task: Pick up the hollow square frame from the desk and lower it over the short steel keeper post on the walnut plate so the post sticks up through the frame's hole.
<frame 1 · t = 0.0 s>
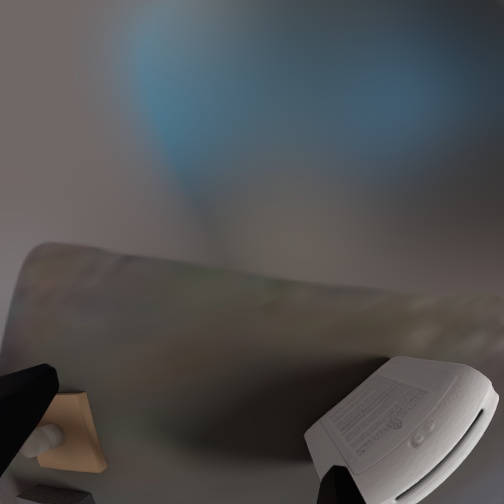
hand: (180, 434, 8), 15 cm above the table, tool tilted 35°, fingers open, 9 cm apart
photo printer: (361, 410, 21), on the table
keeper post: (65, 430, 21), on the table
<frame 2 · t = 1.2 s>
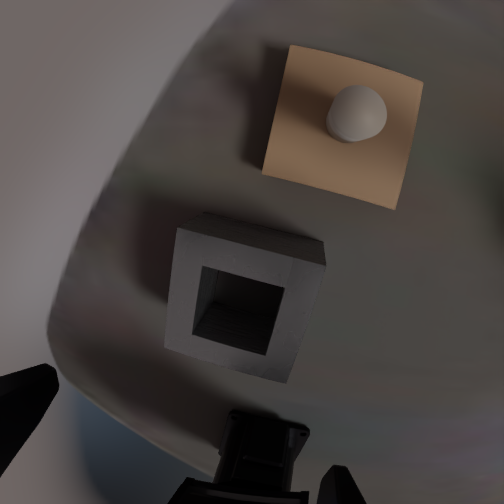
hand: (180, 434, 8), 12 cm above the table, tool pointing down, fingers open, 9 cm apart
keeper post: (343, 126, 16), on the table
hollow square frame: (250, 282, 19), on the table
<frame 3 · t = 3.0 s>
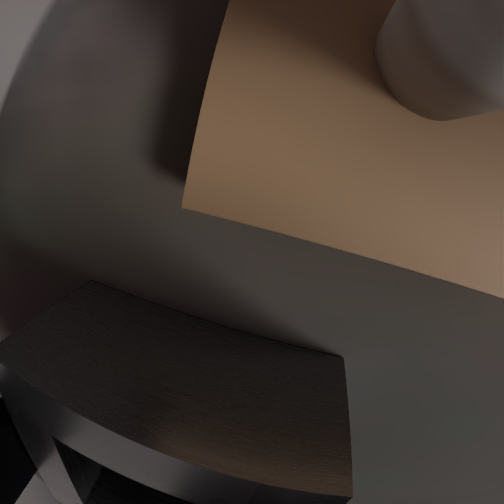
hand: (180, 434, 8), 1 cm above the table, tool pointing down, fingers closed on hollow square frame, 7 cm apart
keeper post: (406, 81, 5), on the table
hollow square frame: (191, 411, 9), on the table, touching gripper
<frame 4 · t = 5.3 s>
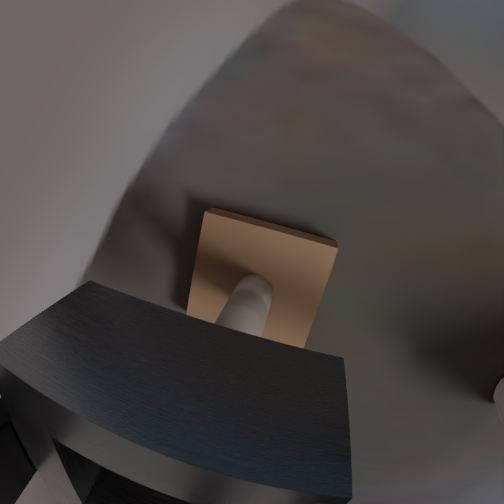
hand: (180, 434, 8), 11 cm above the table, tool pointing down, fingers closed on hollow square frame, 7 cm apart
keeper post: (258, 281, 18), on the table
hollow square frame: (190, 411, 9), point 10 cm above the table, touching gripper
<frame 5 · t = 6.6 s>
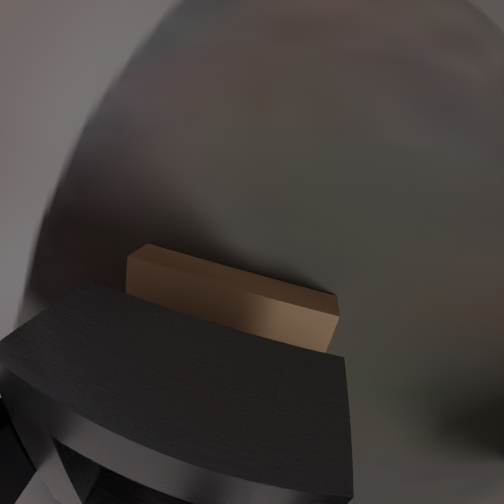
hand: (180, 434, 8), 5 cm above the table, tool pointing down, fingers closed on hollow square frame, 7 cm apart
keeper post: (221, 349, 12), on the table
hollow square frame: (191, 411, 9), point 4 cm above the table, touching gripper
when the fingers open (4 cm above the table, at t = 7.5 s): hollow square frame drops 2 cm, resting on keeper post.
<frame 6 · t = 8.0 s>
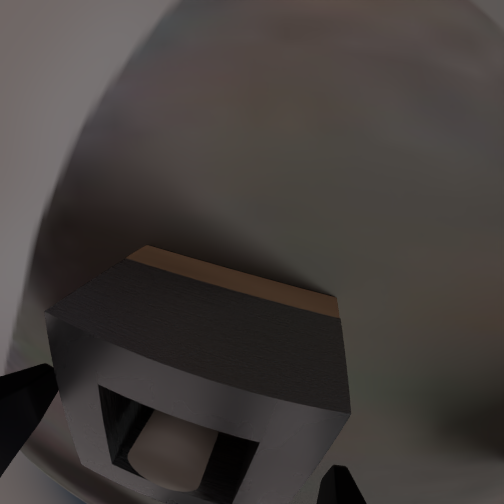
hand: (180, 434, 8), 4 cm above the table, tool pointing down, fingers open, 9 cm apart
keeper post: (220, 350, 12), on the table
hollow square frame: (210, 374, 11), point 1 cm above the table, touching keeper post
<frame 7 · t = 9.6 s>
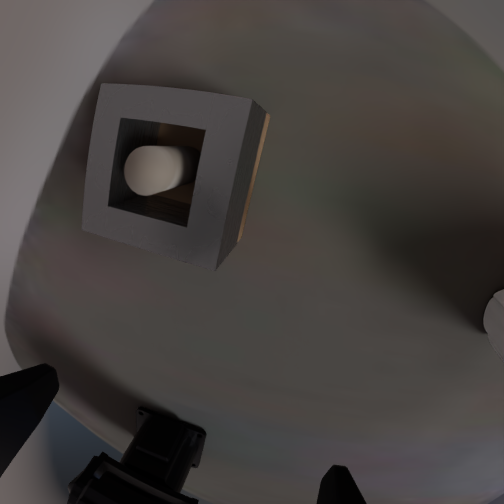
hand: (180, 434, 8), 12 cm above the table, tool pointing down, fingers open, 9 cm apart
keeper post: (196, 163, 18), on the table
hollow square frame: (187, 164, 16), point 1 cm above the table, touching keeper post
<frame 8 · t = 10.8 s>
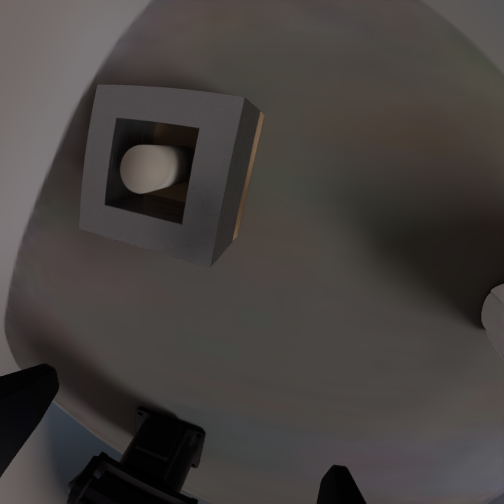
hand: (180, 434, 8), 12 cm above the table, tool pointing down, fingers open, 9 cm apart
keeper post: (191, 163, 18), on the table
hollow square frame: (182, 164, 16), point 1 cm above the table, touching keeper post
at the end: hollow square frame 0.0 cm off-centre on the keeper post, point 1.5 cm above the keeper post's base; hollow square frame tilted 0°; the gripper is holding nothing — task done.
